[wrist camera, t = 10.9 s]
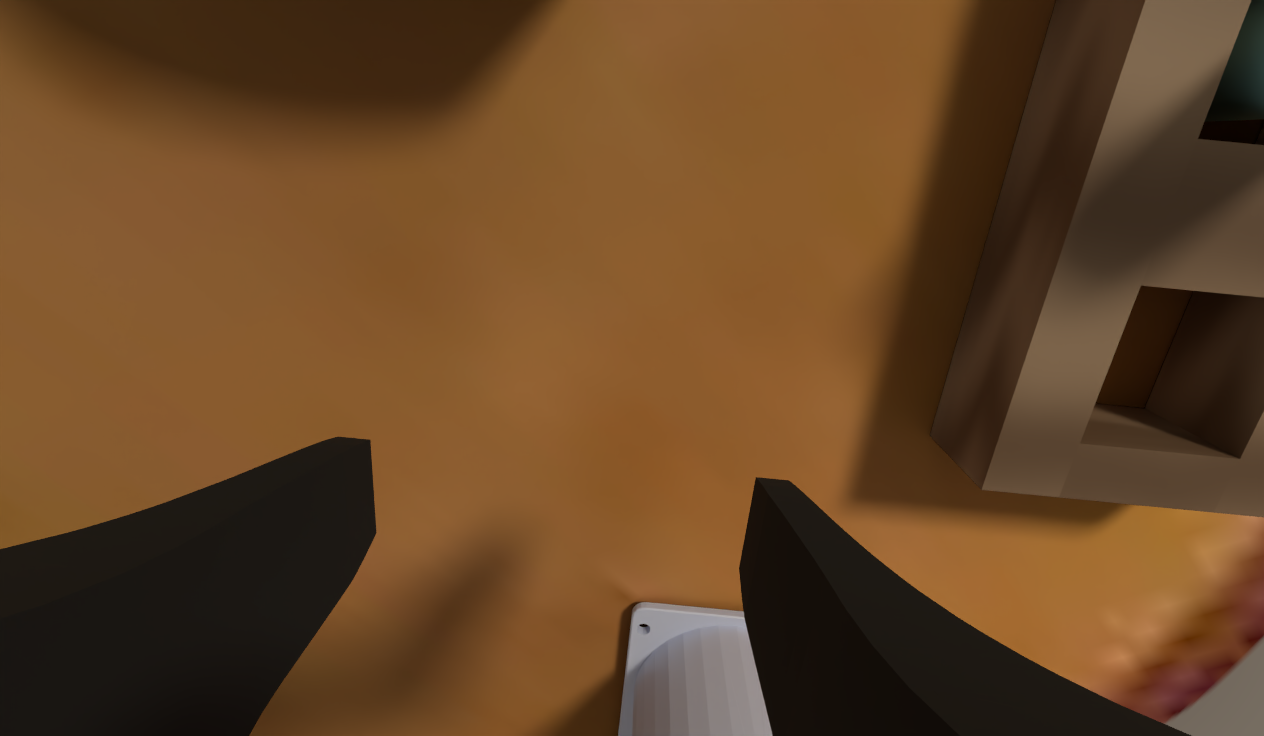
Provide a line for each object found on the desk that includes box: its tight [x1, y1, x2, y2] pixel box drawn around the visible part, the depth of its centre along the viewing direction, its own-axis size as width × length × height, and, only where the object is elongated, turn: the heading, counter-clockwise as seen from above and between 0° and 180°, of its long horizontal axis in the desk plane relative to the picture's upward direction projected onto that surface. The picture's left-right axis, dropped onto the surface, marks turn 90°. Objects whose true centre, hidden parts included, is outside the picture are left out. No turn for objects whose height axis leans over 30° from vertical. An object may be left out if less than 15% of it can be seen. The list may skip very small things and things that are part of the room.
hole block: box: [930, 0, 1264, 517], centre depth 16 cm, size 16×9×4 cm, turn 175°
